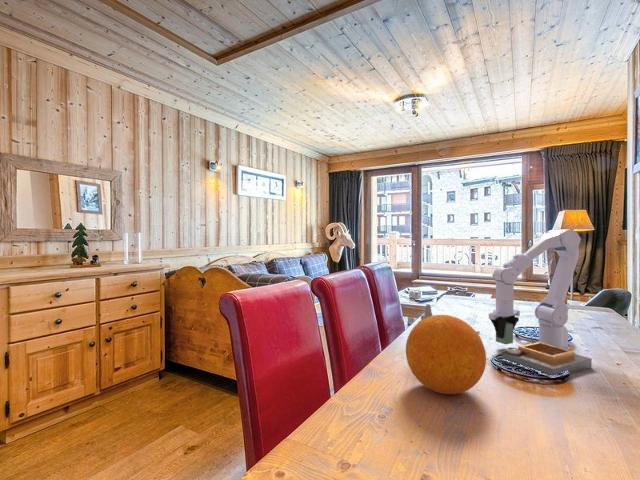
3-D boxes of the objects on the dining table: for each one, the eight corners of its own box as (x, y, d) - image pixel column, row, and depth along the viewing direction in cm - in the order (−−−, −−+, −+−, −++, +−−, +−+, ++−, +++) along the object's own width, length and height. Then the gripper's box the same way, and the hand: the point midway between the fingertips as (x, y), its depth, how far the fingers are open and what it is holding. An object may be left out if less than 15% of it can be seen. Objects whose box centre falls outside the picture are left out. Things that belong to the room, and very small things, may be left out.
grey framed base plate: (539, 352, 121) (539, 338, 121) (591, 368, 106) (591, 352, 106) (502, 360, 112) (502, 345, 112) (552, 379, 98) (553, 362, 98)
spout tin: (502, 340, 127) (503, 318, 127) (513, 343, 124) (513, 321, 123) (495, 341, 125) (495, 319, 125) (505, 344, 122) (505, 322, 122)
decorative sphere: (502, 396, 87) (502, 318, 87) (452, 417, 77) (453, 329, 76) (437, 370, 104) (438, 305, 104) (390, 385, 93) (390, 312, 93)
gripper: (507, 296, 131) (507, 331, 131) (481, 299, 125) (481, 336, 125) (525, 299, 125) (525, 336, 125) (498, 303, 119) (498, 341, 119)
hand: (504, 336), depth 124 cm, fingers closed on spout tin, 4 cm apart
